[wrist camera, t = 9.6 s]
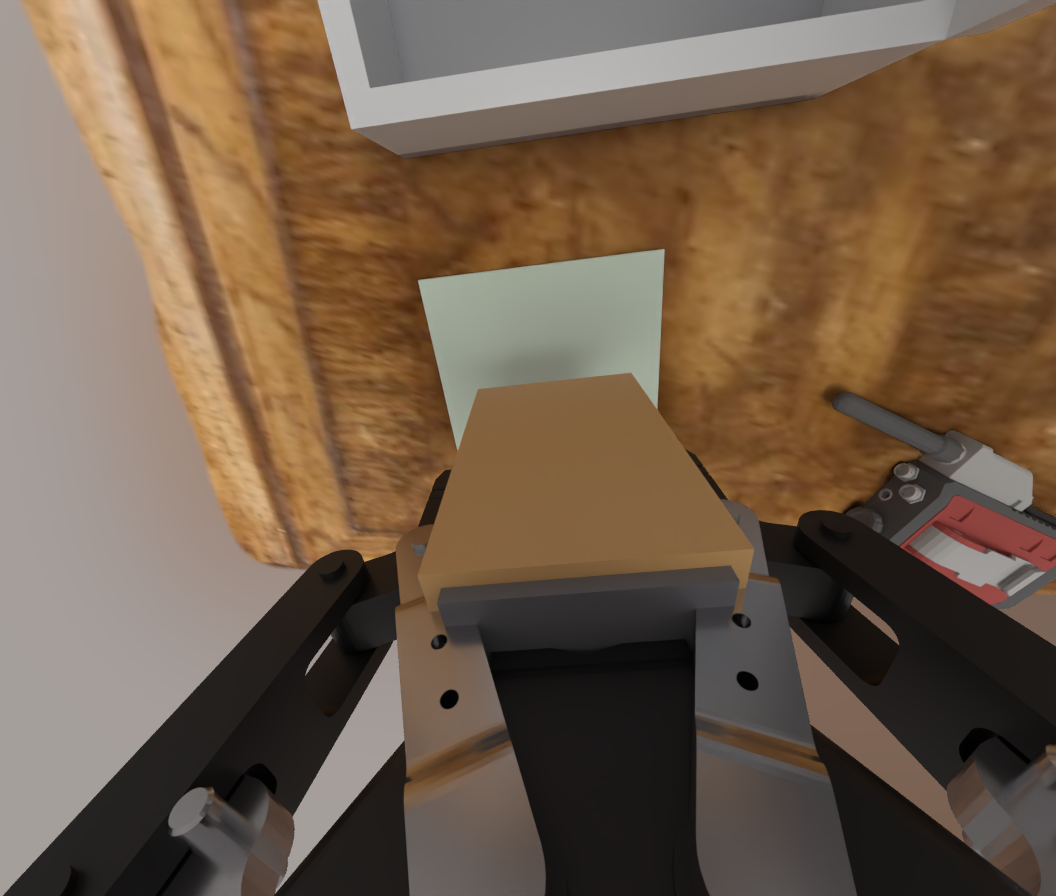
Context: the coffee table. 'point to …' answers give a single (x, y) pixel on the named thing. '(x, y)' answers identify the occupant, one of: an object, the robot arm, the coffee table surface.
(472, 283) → the pad
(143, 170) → the coffee table surface
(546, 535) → the block
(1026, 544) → the walkie-talkie
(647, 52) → the equipment case
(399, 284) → the coffee table surface
